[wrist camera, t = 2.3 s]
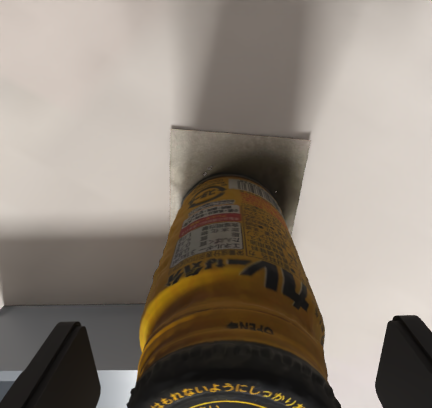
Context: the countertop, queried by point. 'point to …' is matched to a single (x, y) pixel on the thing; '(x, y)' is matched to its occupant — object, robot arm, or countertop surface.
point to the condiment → (232, 283)
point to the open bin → (98, 336)
